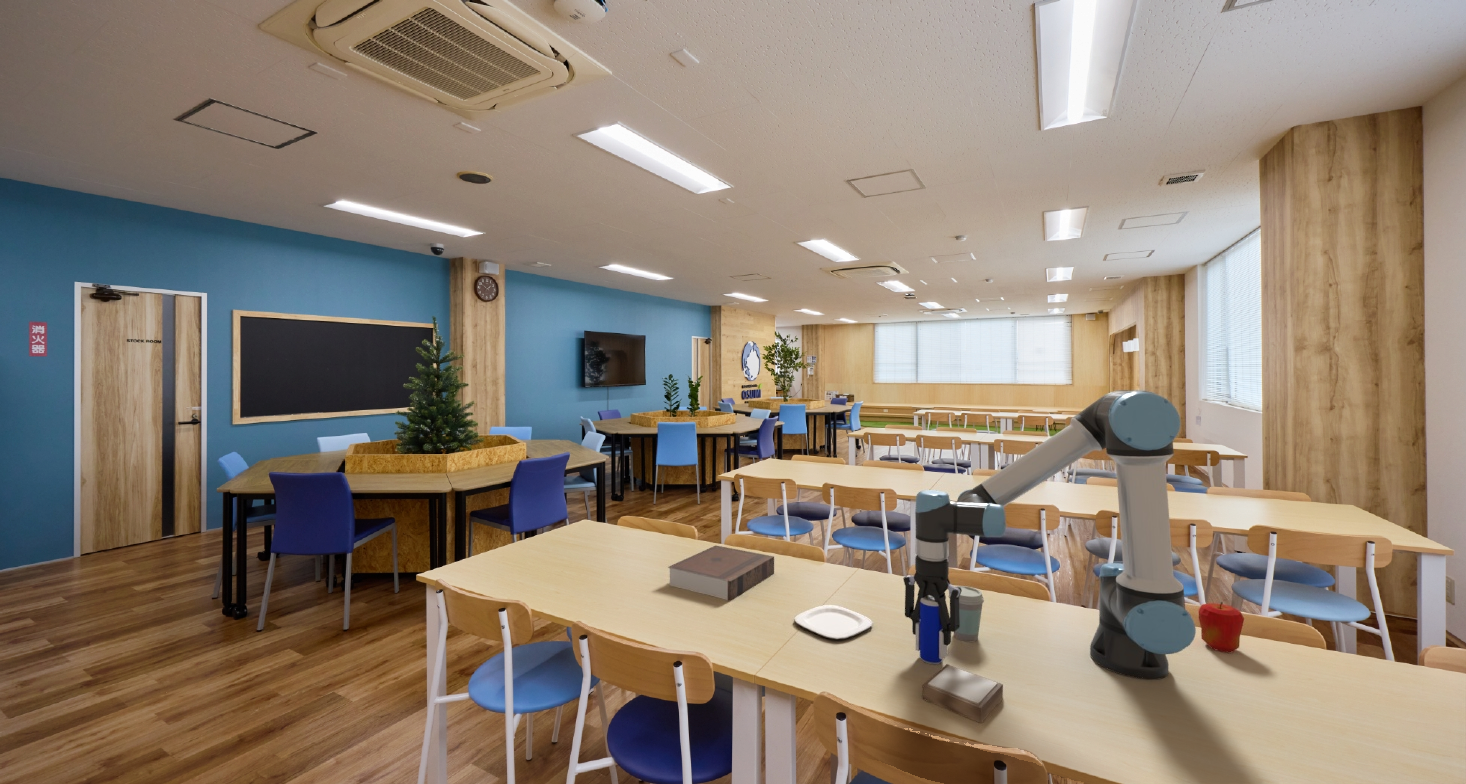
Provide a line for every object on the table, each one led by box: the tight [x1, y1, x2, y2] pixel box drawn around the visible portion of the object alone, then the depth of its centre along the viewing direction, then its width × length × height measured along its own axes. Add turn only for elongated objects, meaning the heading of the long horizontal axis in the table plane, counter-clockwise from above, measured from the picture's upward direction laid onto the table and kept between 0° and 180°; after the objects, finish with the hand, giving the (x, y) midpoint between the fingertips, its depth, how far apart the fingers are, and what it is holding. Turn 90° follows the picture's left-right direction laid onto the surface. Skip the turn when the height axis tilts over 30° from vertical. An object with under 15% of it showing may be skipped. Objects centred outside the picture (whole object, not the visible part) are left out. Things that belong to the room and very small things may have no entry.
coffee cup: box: [948, 585, 985, 643], centre depth 146 cm, size 8×9×12 cm
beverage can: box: [919, 595, 944, 665], centre depth 134 cm, size 5×5×15 cm
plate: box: [793, 604, 874, 641], centre depth 154 cm, size 18×18×2 cm
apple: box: [1198, 601, 1245, 653], centre depth 140 cm, size 9×8×12 cm
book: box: [667, 545, 775, 602], centre depth 189 cm, size 24×28×7 cm
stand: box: [921, 664, 1004, 724], centre depth 118 cm, size 12×12×3 cm
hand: (931, 652), depth 134 cm, fingers closed on beverage can, 5 cm apart
